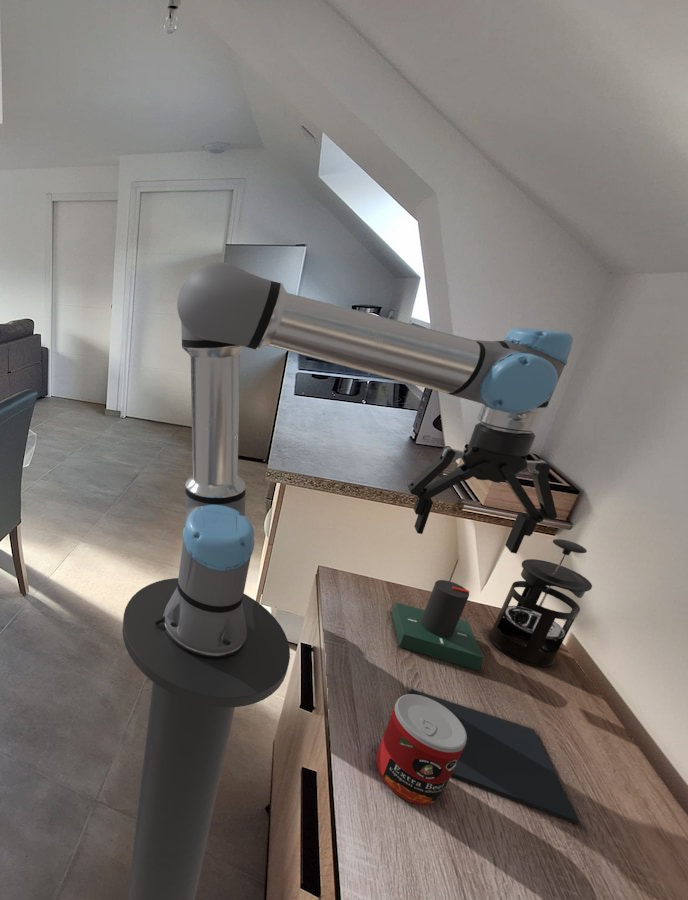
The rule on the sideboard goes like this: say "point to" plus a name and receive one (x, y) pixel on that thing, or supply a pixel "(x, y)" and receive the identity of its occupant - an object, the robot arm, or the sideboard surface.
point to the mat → (507, 761)
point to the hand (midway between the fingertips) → (462, 539)
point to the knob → (444, 608)
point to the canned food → (420, 749)
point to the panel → (436, 638)
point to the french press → (539, 610)
